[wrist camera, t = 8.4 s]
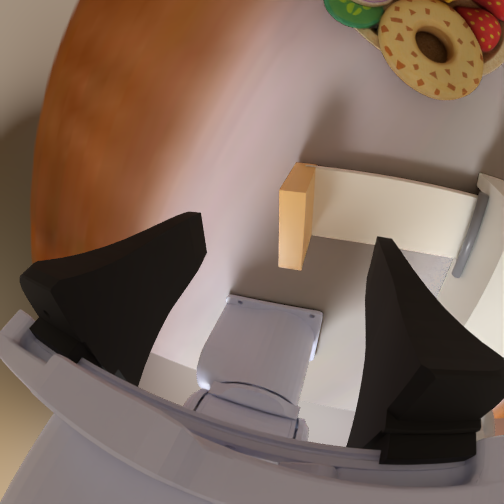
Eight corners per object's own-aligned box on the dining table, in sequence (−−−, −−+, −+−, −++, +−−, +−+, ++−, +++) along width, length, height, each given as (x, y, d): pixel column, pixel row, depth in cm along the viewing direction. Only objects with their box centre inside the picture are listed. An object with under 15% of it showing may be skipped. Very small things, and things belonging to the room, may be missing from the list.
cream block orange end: (294, 226, 21) (278, 266, 17) (296, 162, 18) (279, 190, 14) (472, 255, 17) (490, 299, 13) (491, 198, 14) (521, 234, 10)
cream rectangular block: (402, 348, 25) (402, 398, 21) (470, 169, 14) (508, 208, 10) (487, 355, 22) (494, 399, 17) (567, 206, 11) (602, 245, 6)
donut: (453, 392, 27) (454, 458, 19) (473, 381, 25) (478, 450, 17) (477, 408, 28) (478, 464, 20) (495, 399, 26) (498, 456, 18)
